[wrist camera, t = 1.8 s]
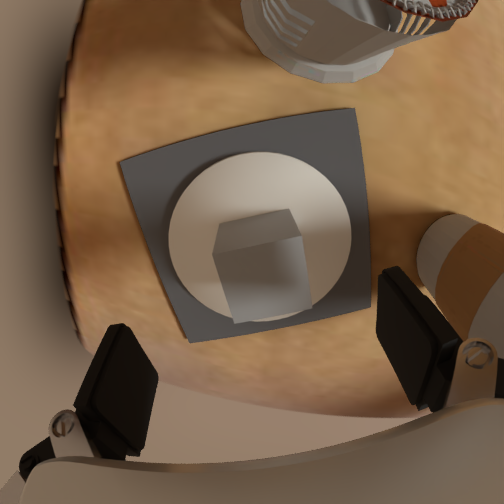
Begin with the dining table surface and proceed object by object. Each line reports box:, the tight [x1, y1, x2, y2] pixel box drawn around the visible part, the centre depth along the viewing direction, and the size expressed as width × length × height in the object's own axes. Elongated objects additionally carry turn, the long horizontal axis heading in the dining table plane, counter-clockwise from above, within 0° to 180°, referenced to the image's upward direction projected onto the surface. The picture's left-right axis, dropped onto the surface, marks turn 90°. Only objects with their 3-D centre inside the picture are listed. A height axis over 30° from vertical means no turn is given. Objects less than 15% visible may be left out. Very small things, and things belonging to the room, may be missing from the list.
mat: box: [120, 108, 371, 343], centre depth 18 cm, size 14×14×1 cm
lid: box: [169, 151, 351, 324], centre depth 16 cm, size 11×11×5 cm
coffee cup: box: [416, 214, 504, 359], centre depth 12 cm, size 8×8×15 cm
